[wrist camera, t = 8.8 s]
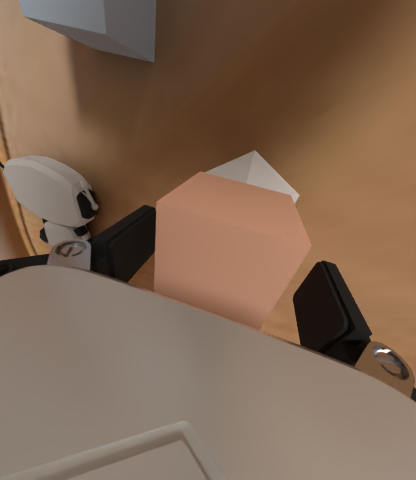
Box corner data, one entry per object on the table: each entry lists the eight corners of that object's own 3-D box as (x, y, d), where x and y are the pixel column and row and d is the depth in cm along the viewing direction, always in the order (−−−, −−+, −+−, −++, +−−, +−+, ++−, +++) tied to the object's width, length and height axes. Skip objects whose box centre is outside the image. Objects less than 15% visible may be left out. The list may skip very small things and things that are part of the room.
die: (201, 216, 23) (225, 286, 18) (171, 157, 16) (196, 243, 11) (262, 191, 23) (306, 255, 17) (258, 118, 16) (333, 187, 10)
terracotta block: (200, 171, 12) (156, 201, 7) (290, 195, 11) (311, 246, 7) (188, 243, 15) (153, 298, 11) (258, 265, 15) (256, 335, 10)
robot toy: (120, 255, 31) (106, 166, 22) (101, 274, 28) (75, 177, 19) (59, 234, 33) (21, 141, 23) (33, 249, 29) (-24, 147, 20)
